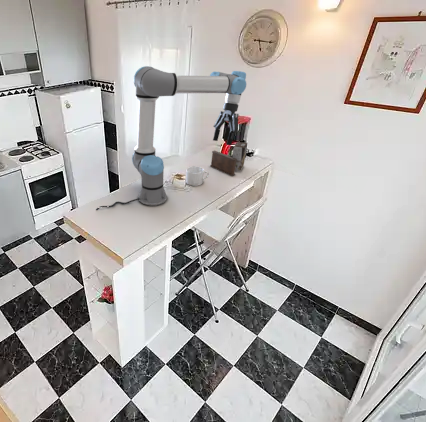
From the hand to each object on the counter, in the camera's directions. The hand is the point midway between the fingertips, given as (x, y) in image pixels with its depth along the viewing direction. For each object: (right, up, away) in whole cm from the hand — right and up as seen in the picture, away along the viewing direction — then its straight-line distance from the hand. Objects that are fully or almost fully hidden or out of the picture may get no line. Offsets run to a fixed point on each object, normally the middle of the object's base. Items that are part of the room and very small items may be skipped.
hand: (221, 142), depth 164 cm
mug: (-12, -21, +11) cm, 27 cm away
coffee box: (+17, -11, +23) cm, 31 cm away
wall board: (+7, -13, +22) cm, 26 cm away
